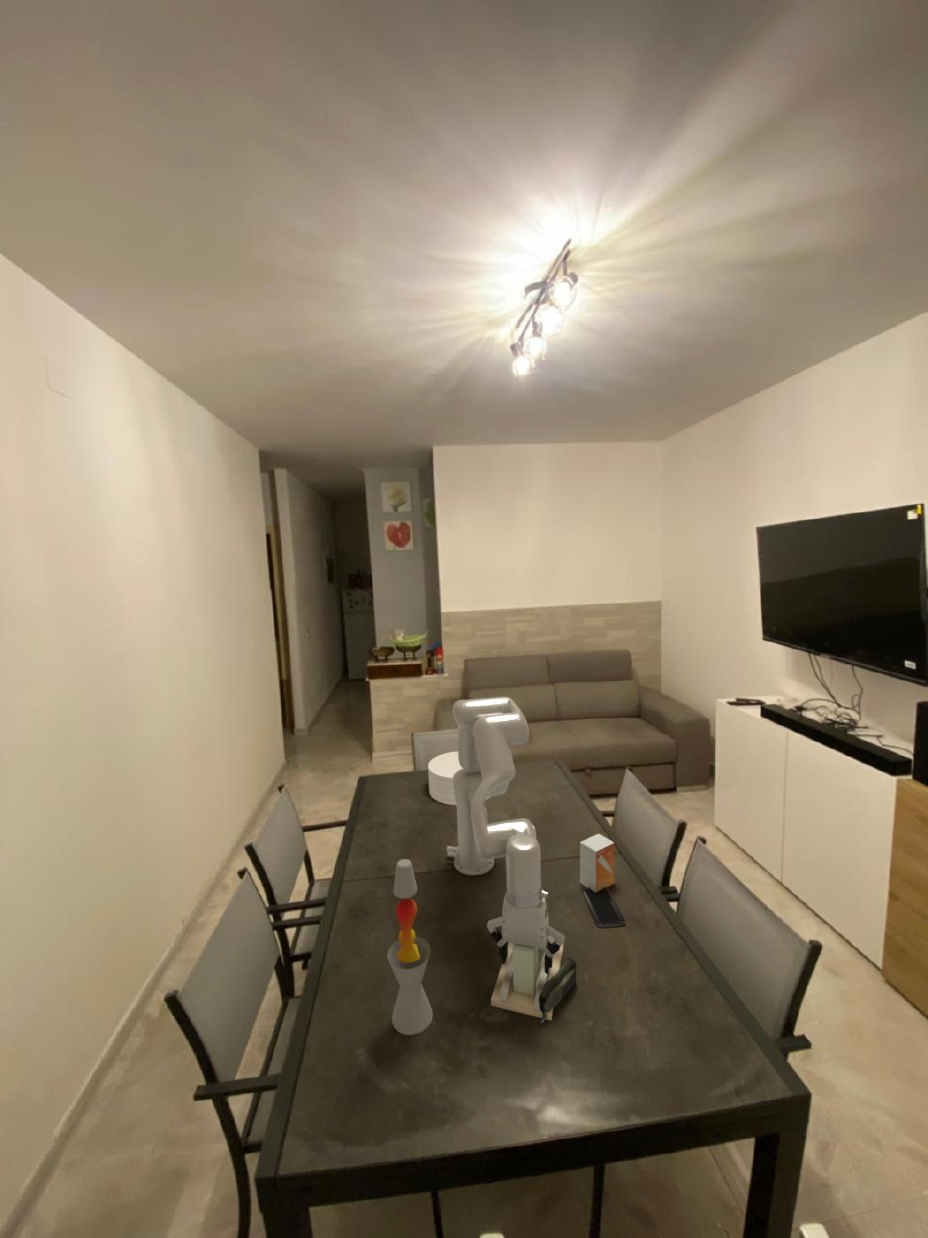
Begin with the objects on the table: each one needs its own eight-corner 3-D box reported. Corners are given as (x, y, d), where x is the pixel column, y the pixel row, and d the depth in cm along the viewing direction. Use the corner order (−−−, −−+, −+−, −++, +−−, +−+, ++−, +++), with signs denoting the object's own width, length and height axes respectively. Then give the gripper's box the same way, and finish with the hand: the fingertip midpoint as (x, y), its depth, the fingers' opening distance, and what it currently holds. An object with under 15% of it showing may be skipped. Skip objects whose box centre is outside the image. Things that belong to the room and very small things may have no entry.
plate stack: (428, 778, 225) (426, 753, 224) (489, 773, 228) (489, 748, 227) (430, 808, 197) (429, 780, 196) (501, 802, 200) (500, 774, 199)
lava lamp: (438, 1028, 104) (430, 870, 100) (394, 1041, 102) (384, 880, 98) (428, 993, 113) (421, 846, 109) (388, 1004, 110) (379, 855, 106)
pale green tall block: (513, 990, 111) (512, 949, 110) (519, 967, 117) (518, 928, 116) (533, 995, 110) (532, 953, 108) (538, 972, 116) (538, 932, 114)
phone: (597, 925, 130) (580, 888, 145) (597, 929, 131) (580, 892, 145) (627, 923, 131) (607, 886, 146) (627, 927, 131) (607, 889, 146)
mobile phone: (567, 953, 116) (533, 997, 105) (579, 960, 114) (545, 1005, 103) (566, 973, 117) (532, 1018, 105) (578, 980, 115) (544, 1027, 103)
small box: (596, 894, 143) (595, 852, 142) (579, 883, 149) (579, 842, 147) (615, 884, 148) (615, 842, 146) (598, 873, 153) (598, 832, 152)
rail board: (551, 1020, 105) (550, 970, 104) (491, 1005, 109) (489, 957, 108) (563, 949, 124) (562, 906, 123) (511, 939, 128) (510, 897, 127)
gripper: (566, 889, 111) (567, 959, 113) (490, 876, 117) (492, 944, 119) (561, 912, 104) (562, 986, 106) (481, 897, 110) (484, 969, 112)
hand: (525, 964), depth 113 cm, fingers open, 9 cm apart
